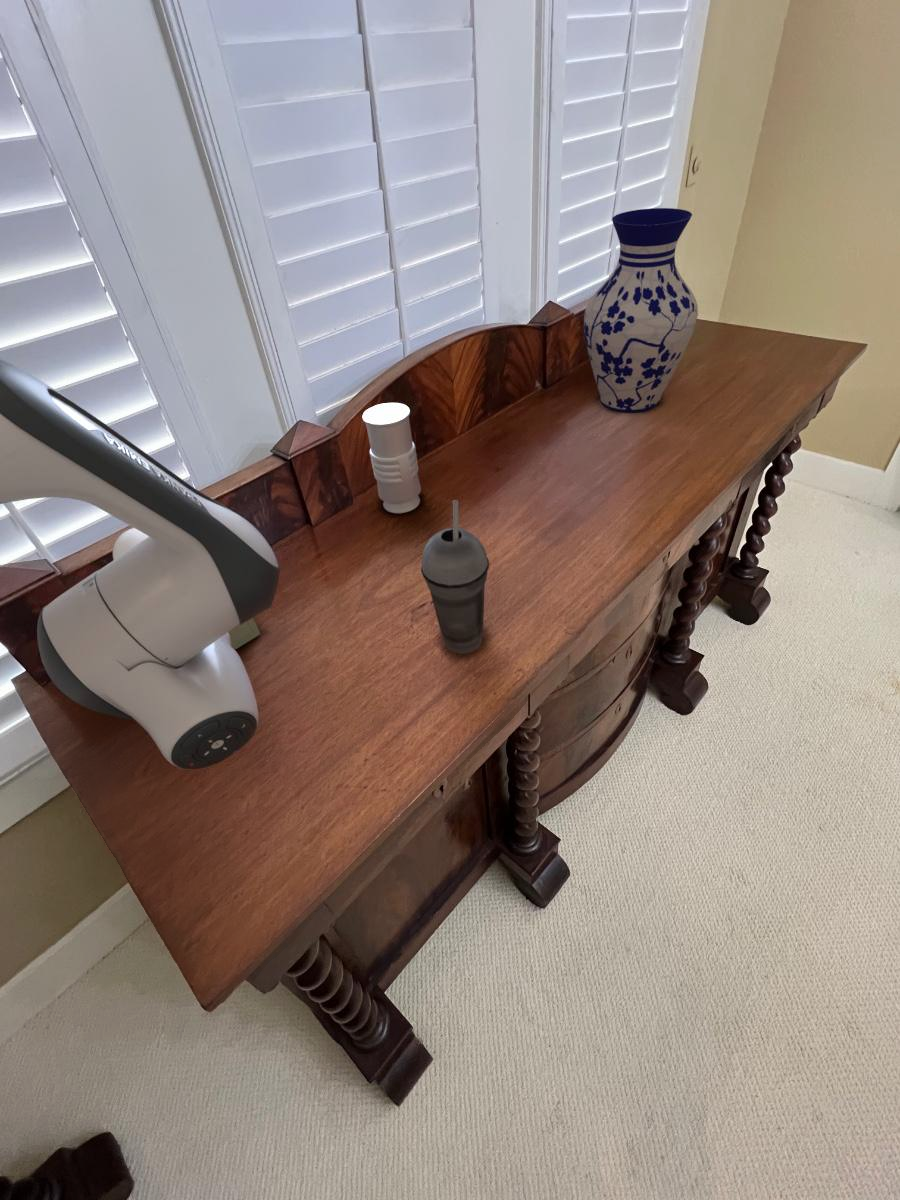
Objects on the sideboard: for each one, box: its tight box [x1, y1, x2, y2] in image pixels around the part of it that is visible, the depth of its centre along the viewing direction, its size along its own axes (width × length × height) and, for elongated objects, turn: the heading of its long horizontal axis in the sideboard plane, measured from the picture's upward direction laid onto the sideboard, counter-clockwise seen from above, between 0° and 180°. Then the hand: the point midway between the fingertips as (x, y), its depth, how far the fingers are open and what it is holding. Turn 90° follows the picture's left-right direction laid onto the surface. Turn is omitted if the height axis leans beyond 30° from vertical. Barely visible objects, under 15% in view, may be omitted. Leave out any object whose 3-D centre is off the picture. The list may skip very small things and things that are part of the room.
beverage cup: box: [420, 500, 490, 655], centre depth 63 cm, size 7×7×20 cm
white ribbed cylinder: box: [362, 402, 422, 514], centre depth 88 cm, size 7×7×15 cm
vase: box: [583, 207, 699, 414], centre depth 102 cm, size 19×19×30 cm
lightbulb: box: [112, 527, 149, 561], centre depth 67 cm, size 6×6×11 cm
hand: (151, 563), depth 67 cm, fingers closed on lightbulb, 6 cm apart
